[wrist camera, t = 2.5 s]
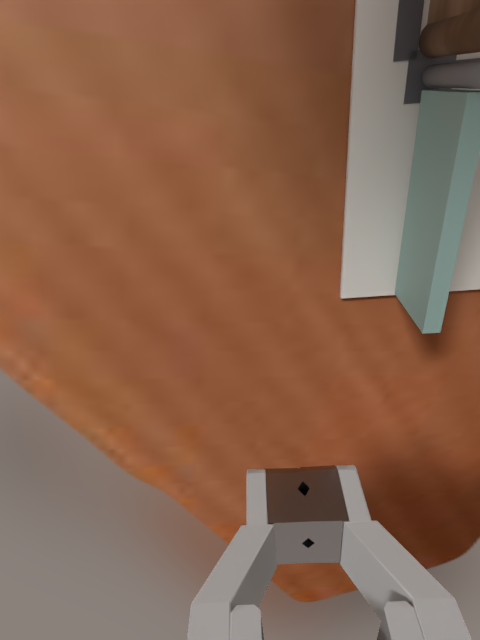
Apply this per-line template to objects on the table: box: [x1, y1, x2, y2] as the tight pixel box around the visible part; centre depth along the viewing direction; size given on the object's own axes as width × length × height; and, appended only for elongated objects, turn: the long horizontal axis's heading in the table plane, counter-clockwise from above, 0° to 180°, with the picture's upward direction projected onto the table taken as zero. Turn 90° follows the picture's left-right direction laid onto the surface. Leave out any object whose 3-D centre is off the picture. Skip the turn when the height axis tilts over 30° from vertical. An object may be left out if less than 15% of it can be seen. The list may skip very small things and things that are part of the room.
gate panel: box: [395, 61, 480, 334], centre depth 21 cm, size 13×1×6 cm, turn 5°
